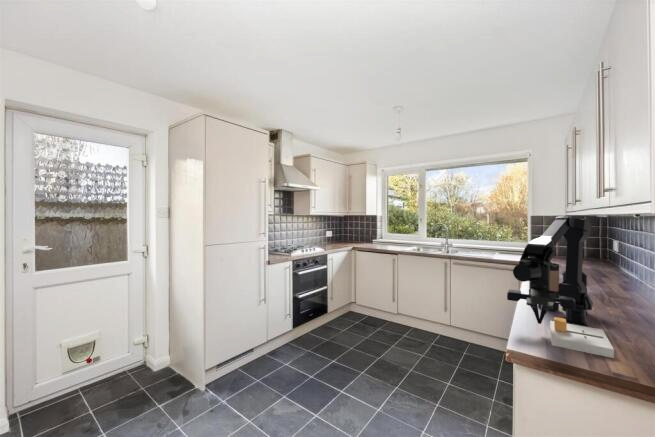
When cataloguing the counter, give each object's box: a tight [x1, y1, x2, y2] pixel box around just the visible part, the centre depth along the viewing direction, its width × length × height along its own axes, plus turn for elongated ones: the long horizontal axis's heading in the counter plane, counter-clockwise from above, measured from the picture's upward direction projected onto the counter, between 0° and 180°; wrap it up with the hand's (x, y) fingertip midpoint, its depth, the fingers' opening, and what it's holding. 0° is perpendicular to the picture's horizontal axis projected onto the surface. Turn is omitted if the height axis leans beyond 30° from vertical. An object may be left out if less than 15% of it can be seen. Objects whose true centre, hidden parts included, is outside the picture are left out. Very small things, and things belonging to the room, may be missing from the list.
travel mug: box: [537, 262, 560, 313], centre depth 125 cm, size 8×8×20 cm
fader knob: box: [553, 316, 568, 332], centre depth 96 cm, size 4×3×3 cm
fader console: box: [549, 320, 615, 359], centre depth 93 cm, size 18×14×3 cm
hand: (539, 323), depth 99 cm, fingers closed
